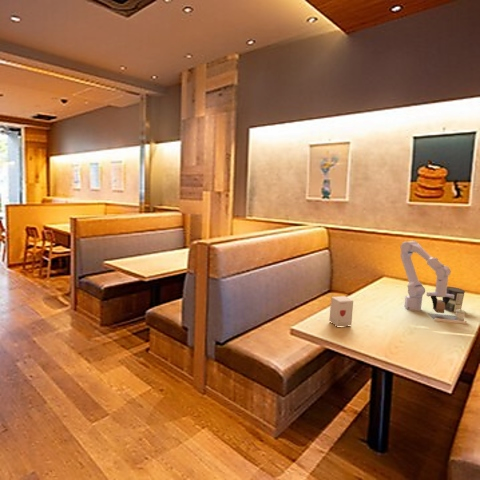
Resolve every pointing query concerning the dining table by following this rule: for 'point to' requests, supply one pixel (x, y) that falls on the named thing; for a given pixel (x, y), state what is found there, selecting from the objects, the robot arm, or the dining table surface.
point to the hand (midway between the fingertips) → (438, 308)
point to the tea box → (440, 306)
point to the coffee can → (457, 301)
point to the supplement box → (341, 311)
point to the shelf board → (445, 318)
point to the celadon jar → (460, 315)
